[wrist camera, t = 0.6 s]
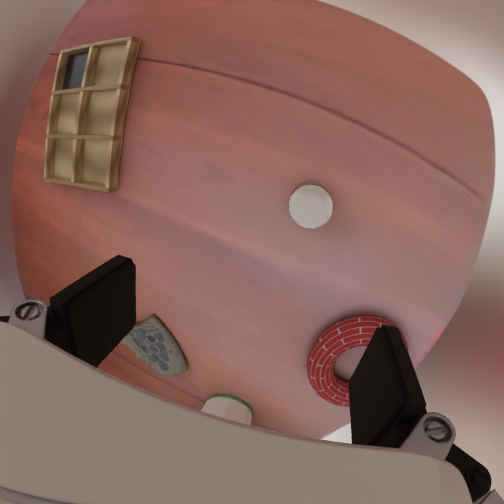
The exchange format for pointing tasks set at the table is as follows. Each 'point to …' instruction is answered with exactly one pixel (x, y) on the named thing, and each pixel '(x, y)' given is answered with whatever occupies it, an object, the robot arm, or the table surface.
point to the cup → (228, 408)
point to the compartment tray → (89, 114)
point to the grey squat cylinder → (310, 205)
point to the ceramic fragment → (156, 347)
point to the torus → (332, 346)
